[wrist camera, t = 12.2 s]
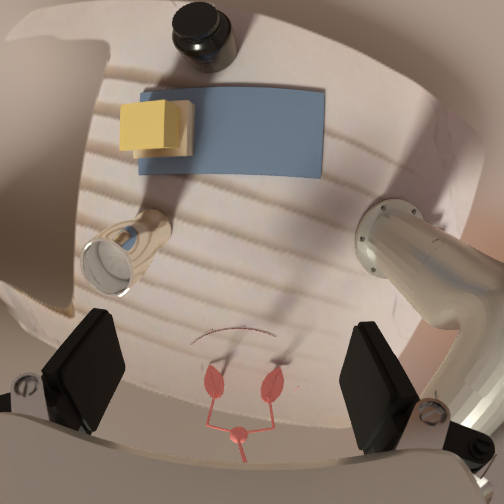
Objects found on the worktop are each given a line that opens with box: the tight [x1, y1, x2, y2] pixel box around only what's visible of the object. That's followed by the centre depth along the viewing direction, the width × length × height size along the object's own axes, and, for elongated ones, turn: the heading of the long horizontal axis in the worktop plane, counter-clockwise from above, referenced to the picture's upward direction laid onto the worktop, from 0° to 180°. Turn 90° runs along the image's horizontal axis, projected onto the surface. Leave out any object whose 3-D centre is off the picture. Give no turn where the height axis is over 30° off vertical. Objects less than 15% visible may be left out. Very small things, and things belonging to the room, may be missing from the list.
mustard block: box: [120, 100, 180, 151], centre depth 28 cm, size 5×5×6 cm
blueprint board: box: [138, 87, 324, 179], centre depth 35 cm, size 25×12×1 cm, turn 88°
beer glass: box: [80, 209, 171, 297], centre depth 33 cm, size 7×7×15 cm
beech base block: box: [133, 100, 195, 158], centre depth 32 cm, size 7×7×4 cm
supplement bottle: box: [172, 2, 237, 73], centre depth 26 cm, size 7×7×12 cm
